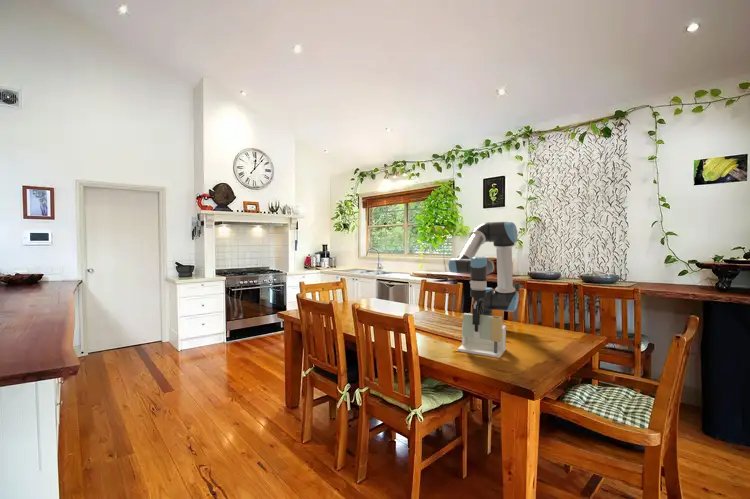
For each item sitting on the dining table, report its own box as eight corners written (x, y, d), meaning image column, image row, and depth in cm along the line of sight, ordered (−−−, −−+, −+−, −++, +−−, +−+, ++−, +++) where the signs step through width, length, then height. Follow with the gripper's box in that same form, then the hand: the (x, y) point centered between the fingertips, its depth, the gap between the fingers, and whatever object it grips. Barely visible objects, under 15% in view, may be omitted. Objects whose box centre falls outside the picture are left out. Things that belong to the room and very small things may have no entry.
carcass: (466, 343, 193) (466, 320, 192) (505, 349, 183) (506, 325, 182) (457, 350, 181) (457, 326, 180) (499, 357, 171) (500, 332, 170)
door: (465, 334, 184) (465, 312, 183) (502, 339, 175) (502, 316, 174) (462, 336, 180) (462, 314, 179) (500, 342, 171) (500, 318, 170)
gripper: (475, 286, 186) (474, 331, 187) (465, 290, 172) (465, 340, 173) (490, 287, 182) (489, 333, 183) (481, 292, 168) (481, 342, 170)
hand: (477, 336), depth 178 cm, fingers closed on door, 3 cm apart
